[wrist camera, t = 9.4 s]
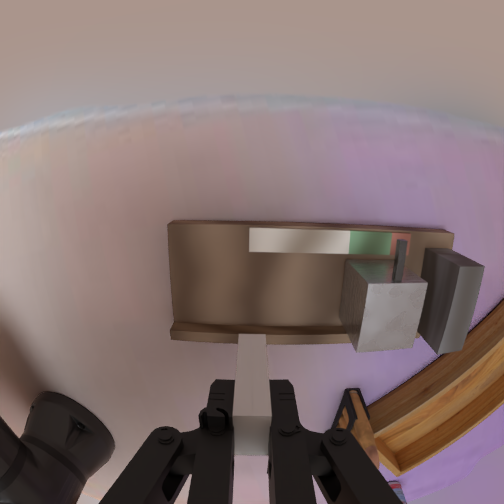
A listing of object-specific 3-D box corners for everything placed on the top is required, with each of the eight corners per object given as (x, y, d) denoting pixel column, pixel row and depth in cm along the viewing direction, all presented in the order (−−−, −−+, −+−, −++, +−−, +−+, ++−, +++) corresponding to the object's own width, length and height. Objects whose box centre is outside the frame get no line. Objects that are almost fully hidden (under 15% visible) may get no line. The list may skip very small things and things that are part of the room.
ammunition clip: (345, 388, 32) (372, 465, 20) (359, 387, 32) (389, 462, 20) (325, 443, 34) (338, 512, 23) (337, 442, 34) (353, 510, 23)
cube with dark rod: (338, 317, 27) (356, 352, 21) (348, 224, 25) (373, 240, 19) (386, 315, 27) (412, 347, 21) (400, 227, 25) (434, 243, 19)
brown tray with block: (180, 327, 30) (158, 373, 22) (173, 220, 27) (142, 239, 19) (425, 325, 29) (460, 363, 22) (444, 229, 27) (491, 248, 19)
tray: (388, 454, 36) (397, 479, 31) (349, 413, 33) (359, 444, 28) (532, 339, 31) (551, 354, 25) (522, 272, 28) (549, 285, 23)
